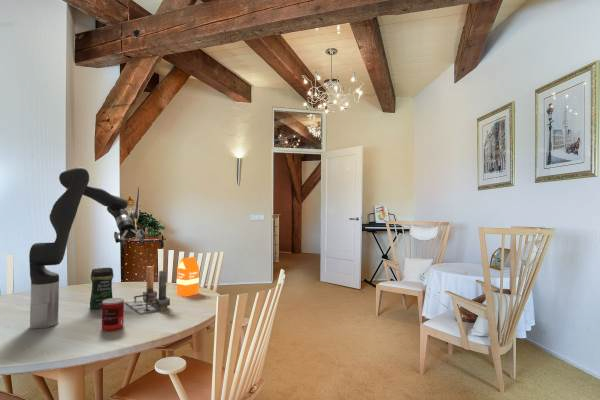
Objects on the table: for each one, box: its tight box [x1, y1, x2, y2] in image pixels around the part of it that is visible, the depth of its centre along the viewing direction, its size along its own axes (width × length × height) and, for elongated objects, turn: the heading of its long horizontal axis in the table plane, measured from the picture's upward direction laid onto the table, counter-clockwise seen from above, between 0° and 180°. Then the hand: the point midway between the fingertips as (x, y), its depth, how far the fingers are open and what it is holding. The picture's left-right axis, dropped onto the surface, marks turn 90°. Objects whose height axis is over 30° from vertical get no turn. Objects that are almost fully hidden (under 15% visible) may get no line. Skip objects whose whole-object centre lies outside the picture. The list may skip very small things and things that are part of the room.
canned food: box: [101, 297, 125, 332], centre depth 136 cm, size 8×8×11 cm
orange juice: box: [176, 256, 200, 297], centre depth 191 cm, size 8×9×20 cm
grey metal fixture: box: [124, 270, 171, 315], centre depth 167 cm, size 25×13×18 cm, turn 42°
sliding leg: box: [133, 265, 158, 302], centre depth 173 cm, size 5×10×16 cm, turn 132°
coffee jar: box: [89, 267, 114, 310], centre depth 165 cm, size 10×8×19 cm
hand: (133, 244), depth 175 cm, fingers open, 8 cm apart
